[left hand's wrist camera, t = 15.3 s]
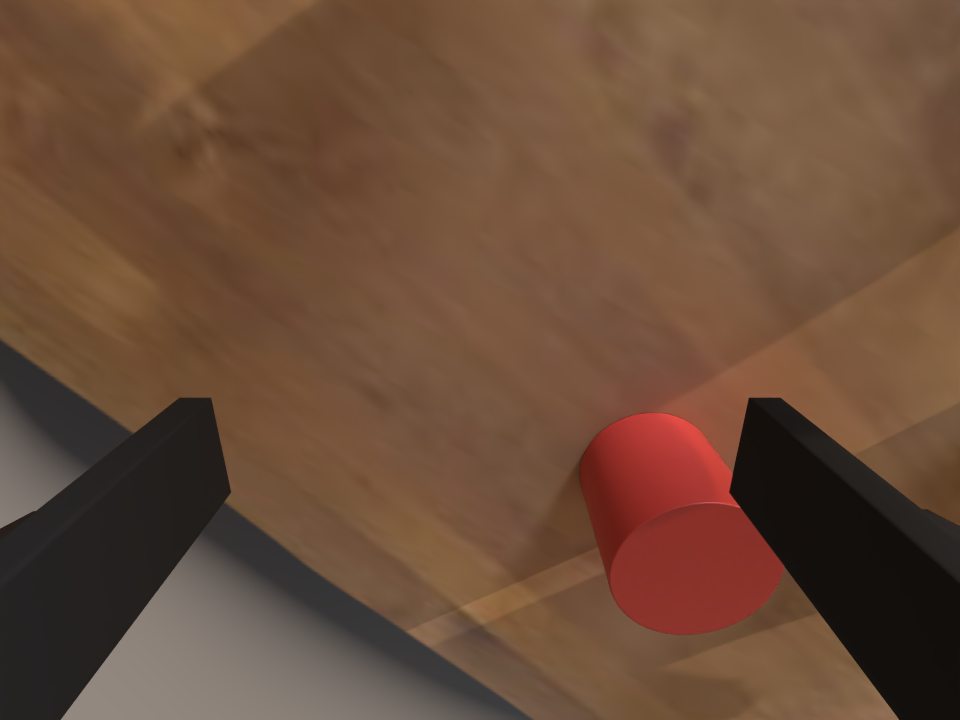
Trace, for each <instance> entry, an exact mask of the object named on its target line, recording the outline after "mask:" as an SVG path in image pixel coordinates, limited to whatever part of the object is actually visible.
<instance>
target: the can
mask: <svg viewBox="0 0 960 720" xmlns="http://www.w3.org/2000/svg"><path fill="white" fill-rule="evenodd" d="M732 476H733V474H732V472H731V471H730V470H729V468H728V467H727V466H726V464H725V463H724V462H723V461H722V459H721V458H720V457H719V455H718V454H717V453H716V451H715V450H714V449H713V447H712V446H711V445H710V443H709V442H708V441H707V440H706V438H705V437H704V436H703V434H702V433H701V432H700V431H699V430H698V429H697V428H696V427H695V426H693V425H692V424H691V423H689V422H687V421H686V420H684V419H681V418H679V417H676V416H672V415H669V414H662V413H643V414H637V415H633V416H629V417H626V418H623V419H621V420H619V421H617V422H615V423H613V424H611V425H610V426H608V427H607V428H605V429H604V430H603V431H601V432H600V433H599V434H598V435H597V436H596V437H595V438H594V439H593V441H592V442H591V443H590V445H589V446H588V448H587V449H586V451H585V453H584V456H583V458H582V461H581V465H580V483H581V488H582V491H583V495H584V498H585V502H586V505H587V509H588V513H589V516H590V520H591V523H592V527H593V530H594V534H595V537H596V541H597V544H598V548H599V551H600V555H601V558H602V562H603V565H604V569H605V573H606V576H607V580H608V583H609V587H610V590H611V593H612V596H613V598H614V600H615V602H616V603H617V605H618V606H619V608H620V609H621V610H622V611H623V612H624V613H625V614H626V615H627V616H628V617H629V618H630V619H632V620H633V621H635V622H636V623H638V624H640V625H642V626H644V627H646V628H648V629H651V630H654V631H658V632H662V633H667V634H676V635H692V634H701V633H707V632H712V631H715V630H719V629H722V628H725V627H728V626H730V625H732V624H735V623H737V622H739V621H741V620H742V619H744V618H746V617H748V616H749V615H750V614H752V613H753V612H755V611H756V610H757V609H758V608H759V607H761V606H762V605H763V604H764V603H765V602H766V601H767V600H768V598H769V597H770V596H771V595H772V593H773V592H774V590H775V589H776V587H777V585H778V583H779V581H780V579H781V576H782V573H783V569H784V565H783V564H782V562H781V561H780V560H779V558H778V557H777V556H776V554H775V553H774V552H773V550H772V549H771V548H770V546H769V545H768V544H767V542H766V541H765V540H764V538H763V537H762V536H761V534H760V533H759V532H758V530H757V529H756V528H755V526H754V525H753V524H752V522H751V521H750V520H749V518H748V517H747V516H746V514H745V513H744V512H743V510H742V509H741V508H740V506H739V505H738V504H737V502H736V501H735V500H734V498H733V497H732V496H731V494H730V493H729V490H730V485H731V480H732Z"/></svg>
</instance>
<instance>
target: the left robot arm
mask: <svg viewBox="0 0 960 720" xmlns="http://www.w3.org/2000/svg"><path fill="white" fill-rule="evenodd" d="M230 493H231V490H230V485H229V480H228V476H227V471H226V466H225V462H224V457H223V452H222V447H221V443H220V438H219V433H218V429H217V424H216V419H215V414H214V410H213V405H212V400H211V398H179V399H177V400H176V401H175V402H174V403H172V404H171V405H170V406H169V407H167V408H166V409H165V410H164V411H162V412H161V413H160V414H158V415H157V416H156V417H155V418H153V419H152V420H151V421H150V422H148V423H147V424H146V425H145V426H143V427H142V428H141V429H139V430H138V431H137V432H136V433H134V434H133V435H132V436H131V437H129V438H128V439H127V440H126V441H124V442H123V443H122V444H120V445H119V446H118V447H117V448H115V449H114V450H113V451H112V452H110V453H109V454H108V455H107V456H105V457H104V458H103V459H101V460H100V461H99V462H98V463H96V464H95V465H94V466H93V467H91V468H90V469H89V470H88V471H86V472H85V473H84V474H83V475H81V476H80V477H79V478H77V479H76V480H75V481H74V482H72V483H71V484H70V485H69V486H67V487H66V488H65V489H64V490H62V491H61V492H60V493H58V494H57V495H56V496H55V497H53V498H52V499H51V500H50V501H48V502H47V503H46V504H45V505H43V506H42V507H41V508H39V509H38V510H37V511H33V512H31V513H29V514H27V515H25V516H24V517H22V518H20V519H18V520H16V521H14V522H12V523H10V524H8V525H6V526H5V527H3V528H1V529H0V720H61V718H62V717H63V716H64V714H65V713H66V712H67V710H68V709H69V708H70V706H71V705H72V704H73V702H74V701H75V700H76V698H77V697H78V696H79V694H80V693H81V692H82V690H83V689H84V688H85V686H86V685H87V684H88V682H89V681H90V680H91V678H92V677H93V676H94V674H95V673H96V672H97V670H98V669H99V668H100V666H101V665H102V664H103V662H104V661H105V660H106V658H107V657H108V656H109V654H110V653H111V652H112V650H113V649H114V648H115V646H116V645H117V644H118V642H119V641H120V640H121V638H122V637H123V636H124V634H125V633H126V632H127V630H128V629H129V628H130V626H131V625H132V624H133V622H134V621H135V620H136V618H137V617H138V616H139V614H140V613H141V612H142V610H143V609H144V608H145V606H146V605H147V604H148V602H149V601H150V600H151V598H152V597H153V596H154V594H155V593H156V592H157V590H158V589H159V588H160V586H161V585H162V584H163V582H164V581H165V580H166V578H167V577H168V576H169V574H170V573H171V572H172V570H173V569H174V568H175V566H176V565H177V564H178V562H179V561H180V560H181V558H182V557H183V556H184V554H185V553H186V552H187V550H188V549H189V548H190V546H191V545H192V544H193V542H194V541H195V540H196V538H197V537H198V536H199V534H200V533H201V532H202V530H203V529H204V528H205V526H206V525H207V524H208V522H209V521H210V520H211V518H212V517H213V516H214V514H215V513H216V512H217V510H218V509H219V508H220V506H221V505H222V504H223V502H224V501H225V500H226V498H227V497H228V496H229V494H230ZM729 493H730V494H731V496H732V497H733V498H734V500H735V501H736V502H737V504H738V505H739V506H740V508H741V509H742V510H743V512H744V513H745V514H746V516H747V517H748V518H749V520H750V521H751V522H752V524H753V525H754V526H755V528H756V529H757V530H758V532H759V533H760V534H761V536H762V537H763V538H764V540H765V541H766V542H767V544H768V545H769V546H770V548H771V549H772V550H773V552H774V553H775V554H776V556H777V557H778V558H779V560H780V561H781V562H782V564H783V565H784V566H785V568H786V569H787V570H788V572H789V573H790V574H791V576H792V577H793V578H794V580H795V581H796V582H797V584H798V585H799V586H800V588H801V589H802V590H803V592H804V593H805V594H806V596H807V597H808V598H809V600H810V601H811V602H812V604H813V605H814V606H815V608H816V609H817V610H818V612H819V613H820V614H821V616H822V617H823V618H824V620H825V621H826V622H827V624H828V625H829V626H830V628H831V629H832V630H833V632H834V633H835V634H836V636H837V637H838V638H839V640H840V641H841V642H842V644H843V645H844V646H845V648H846V649H847V650H848V652H849V653H850V654H851V656H852V657H853V658H854V660H855V661H856V662H857V664H858V665H859V666H860V668H861V669H862V670H863V672H864V673H865V674H866V676H867V677H868V678H869V680H870V681H871V682H872V684H873V685H874V686H875V688H876V689H877V690H878V692H879V693H880V694H881V696H882V697H883V698H884V700H885V701H886V702H887V704H888V705H889V706H890V708H891V709H892V710H893V712H894V713H895V714H896V716H897V717H898V718H899V720H960V526H958V525H956V524H954V523H952V522H950V521H948V520H946V519H945V518H943V517H941V516H939V515H937V514H935V513H933V512H931V511H929V510H922V509H921V508H919V507H918V506H917V505H915V504H914V503H913V502H912V501H910V500H909V499H908V498H907V497H905V496H904V495H903V494H902V493H900V492H899V491H898V490H896V489H895V488H894V487H893V486H891V485H890V484H889V483H888V482H886V481H885V480H884V479H883V478H881V477H880V476H879V475H878V474H876V473H875V472H874V471H872V470H871V469H870V468H869V467H867V466H866V465H865V464H864V463H862V462H861V461H860V460H859V459H857V458H856V457H855V456H853V455H852V454H851V453H850V452H848V451H847V450H846V449H845V448H843V447H842V446H841V445H840V444H838V443H837V442H836V441H834V440H833V439H832V438H831V437H829V436H828V435H827V434H826V433H824V432H823V431H822V430H821V429H819V428H818V427H817V426H815V425H814V424H813V423H812V422H810V421H809V420H808V419H807V418H805V417H804V416H803V415H802V414H800V413H799V412H798V411H796V410H795V409H794V408H793V407H791V406H790V405H789V404H788V403H786V402H785V401H784V400H783V399H781V398H749V400H748V405H747V410H746V414H745V419H744V424H743V429H742V433H741V438H740V443H739V447H738V452H737V457H736V462H735V466H734V471H733V476H732V480H731V485H730V490H729Z"/></svg>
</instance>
